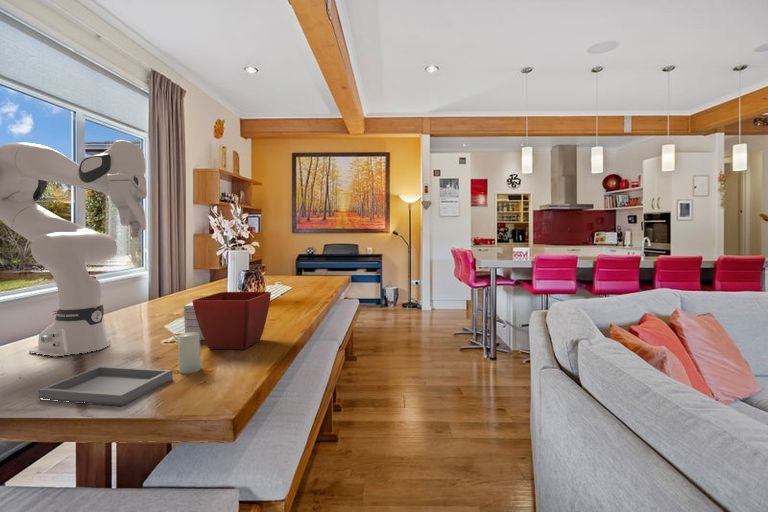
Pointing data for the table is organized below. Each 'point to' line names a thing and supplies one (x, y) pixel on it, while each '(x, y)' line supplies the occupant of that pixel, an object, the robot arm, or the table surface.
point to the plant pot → (232, 318)
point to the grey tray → (107, 385)
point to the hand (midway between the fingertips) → (130, 231)
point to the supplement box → (191, 320)
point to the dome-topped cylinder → (189, 352)
